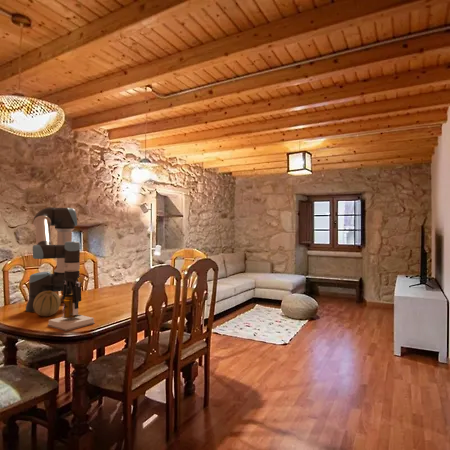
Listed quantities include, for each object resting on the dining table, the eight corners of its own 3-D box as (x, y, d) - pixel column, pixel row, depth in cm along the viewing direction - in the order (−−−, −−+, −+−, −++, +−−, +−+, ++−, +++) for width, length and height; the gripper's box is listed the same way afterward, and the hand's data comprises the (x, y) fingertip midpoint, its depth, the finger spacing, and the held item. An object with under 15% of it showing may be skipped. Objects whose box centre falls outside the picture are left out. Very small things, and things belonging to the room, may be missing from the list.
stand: (47, 325, 184) (47, 320, 184) (76, 319, 198) (76, 313, 198) (66, 331, 175) (66, 325, 175) (94, 323, 189) (94, 318, 189)
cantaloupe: (44, 312, 213) (44, 287, 213) (66, 313, 211) (66, 288, 211) (26, 318, 199) (26, 292, 199) (49, 319, 196) (50, 292, 196)
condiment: (60, 317, 185) (60, 294, 185) (74, 313, 192) (75, 292, 192) (68, 319, 181) (68, 296, 181) (82, 315, 188) (83, 293, 188)
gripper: (55, 269, 189) (54, 312, 189) (76, 272, 178) (75, 317, 178) (68, 268, 195) (67, 310, 195) (89, 271, 185) (88, 314, 184)
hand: (71, 313), depth 186 cm, fingers closed on condiment, 6 cm apart
